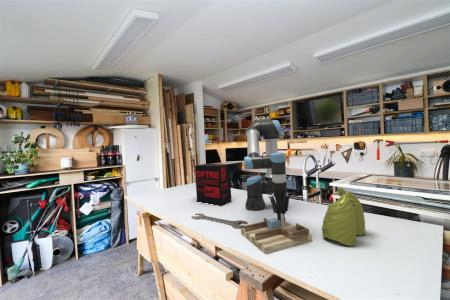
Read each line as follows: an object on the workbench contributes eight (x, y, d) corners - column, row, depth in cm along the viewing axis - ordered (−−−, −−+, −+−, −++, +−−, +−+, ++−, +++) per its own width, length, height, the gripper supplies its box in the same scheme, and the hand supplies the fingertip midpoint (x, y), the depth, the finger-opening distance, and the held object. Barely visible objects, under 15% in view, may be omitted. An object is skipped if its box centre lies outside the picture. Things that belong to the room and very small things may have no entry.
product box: (197, 202, 186) (194, 165, 185) (207, 198, 198) (205, 163, 197) (221, 206, 171) (219, 166, 170) (231, 201, 182) (229, 164, 181)
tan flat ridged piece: (241, 233, 118) (240, 222, 118) (281, 224, 128) (281, 214, 128) (265, 253, 96) (264, 240, 96) (312, 240, 106) (311, 228, 106)
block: (267, 228, 116) (266, 219, 116) (275, 226, 118) (274, 217, 118) (272, 231, 112) (271, 222, 112) (280, 229, 113) (280, 220, 113)
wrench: (188, 219, 147) (188, 216, 147) (198, 214, 156) (198, 211, 156) (242, 230, 123) (242, 227, 123) (250, 224, 132) (250, 221, 132)
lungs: (337, 225, 123) (336, 183, 122) (369, 232, 112) (368, 186, 111) (317, 239, 107) (315, 191, 106) (351, 250, 95) (349, 196, 94)
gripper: (284, 179, 121) (286, 220, 121) (264, 182, 116) (267, 225, 116) (293, 181, 114) (295, 225, 114) (273, 184, 109) (275, 230, 109)
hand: (281, 225), depth 115 cm, fingers closed
